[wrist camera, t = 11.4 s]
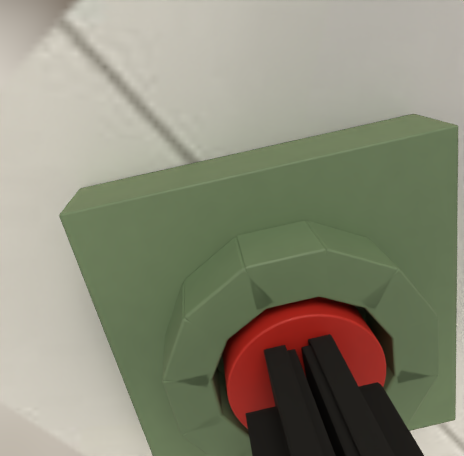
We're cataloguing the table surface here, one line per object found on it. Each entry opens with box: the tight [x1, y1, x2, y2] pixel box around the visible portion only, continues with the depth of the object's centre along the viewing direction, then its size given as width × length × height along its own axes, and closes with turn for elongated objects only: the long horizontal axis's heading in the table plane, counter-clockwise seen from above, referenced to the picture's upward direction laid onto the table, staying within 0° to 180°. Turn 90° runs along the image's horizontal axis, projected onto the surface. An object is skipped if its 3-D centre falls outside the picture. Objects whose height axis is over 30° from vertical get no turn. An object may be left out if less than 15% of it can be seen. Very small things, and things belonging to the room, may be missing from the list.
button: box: [222, 297, 386, 429], centre depth 11 cm, size 4×4×2 cm
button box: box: [60, 114, 458, 456], centre depth 12 cm, size 10×10×4 cm
